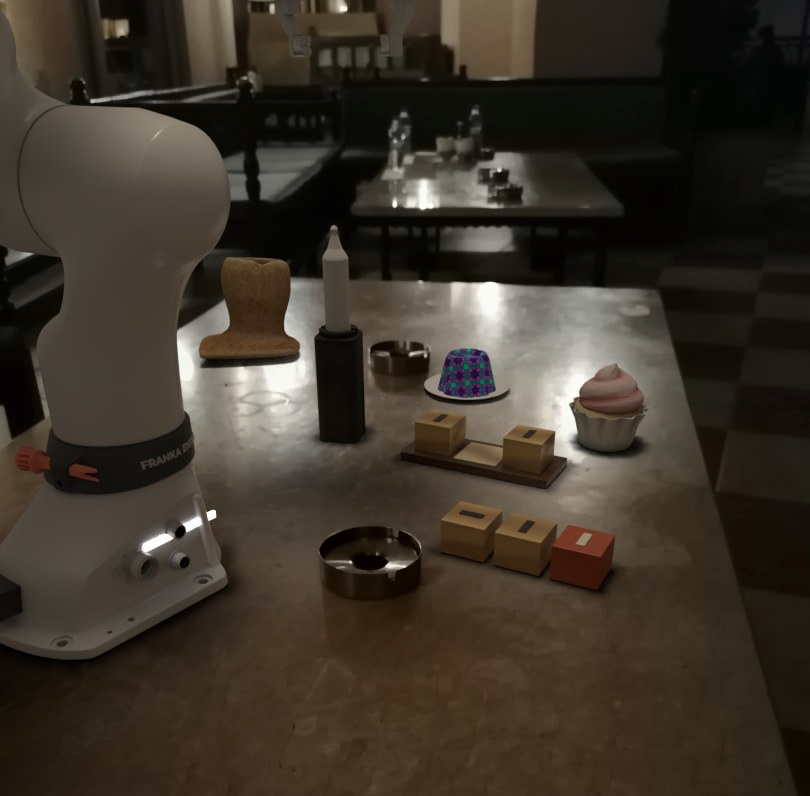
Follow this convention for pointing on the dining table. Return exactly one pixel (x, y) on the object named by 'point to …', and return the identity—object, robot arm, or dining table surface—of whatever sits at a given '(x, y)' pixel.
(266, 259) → the stone cup
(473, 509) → the tile
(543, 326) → the dining table surface
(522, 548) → the tan wooden cube
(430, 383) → the pudding
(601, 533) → the red cube
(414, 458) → the tray with tiles
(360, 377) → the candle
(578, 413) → the cupcake
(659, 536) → the dining table surface
